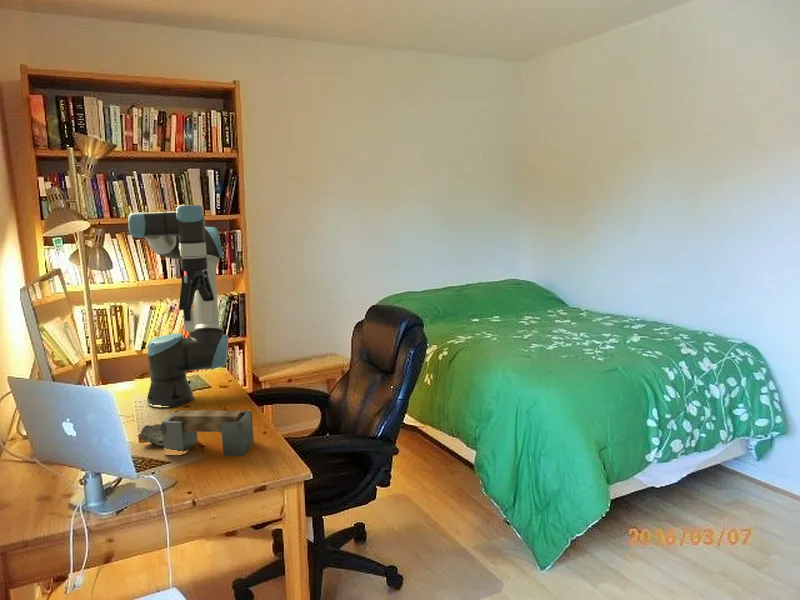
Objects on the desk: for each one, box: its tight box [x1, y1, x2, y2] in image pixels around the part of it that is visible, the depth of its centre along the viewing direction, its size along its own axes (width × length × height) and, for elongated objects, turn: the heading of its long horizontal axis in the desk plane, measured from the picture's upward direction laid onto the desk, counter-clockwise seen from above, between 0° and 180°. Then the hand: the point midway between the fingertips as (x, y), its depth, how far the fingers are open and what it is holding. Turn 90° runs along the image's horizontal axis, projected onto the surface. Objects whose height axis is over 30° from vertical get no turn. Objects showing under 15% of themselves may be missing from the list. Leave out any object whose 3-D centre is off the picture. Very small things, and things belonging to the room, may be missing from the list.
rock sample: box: [138, 423, 164, 447], centre depth 177 cm, size 10×8×9 cm
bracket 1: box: [161, 410, 199, 452], centre depth 173 cm, size 9×6×10 cm, turn 176°
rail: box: [173, 410, 242, 433], centre depth 171 cm, size 18×4×4 cm, turn 86°
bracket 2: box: [221, 410, 255, 457], centre depth 171 cm, size 9×6×10 cm, turn 176°
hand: (199, 326), depth 186 cm, fingers open, 13 cm apart
